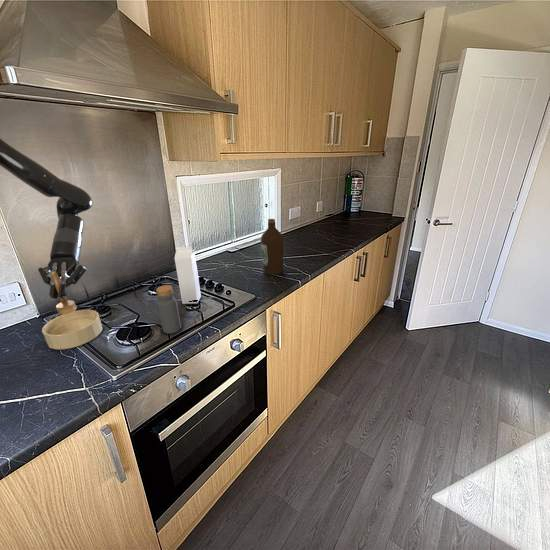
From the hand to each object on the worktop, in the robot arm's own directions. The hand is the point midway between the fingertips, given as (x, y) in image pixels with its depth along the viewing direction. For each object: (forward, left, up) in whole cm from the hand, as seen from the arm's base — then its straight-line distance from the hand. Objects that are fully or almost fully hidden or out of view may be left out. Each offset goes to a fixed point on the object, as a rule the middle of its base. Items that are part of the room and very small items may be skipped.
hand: (57, 297), depth 87 cm
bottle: (+30, +7, -15) cm, 34 cm away
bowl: (0, +2, -15) cm, 16 cm away
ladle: (0, +2, -6) cm, 6 cm away
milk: (+30, +27, -15) cm, 43 cm away
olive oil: (+60, +57, -15) cm, 84 cm away
